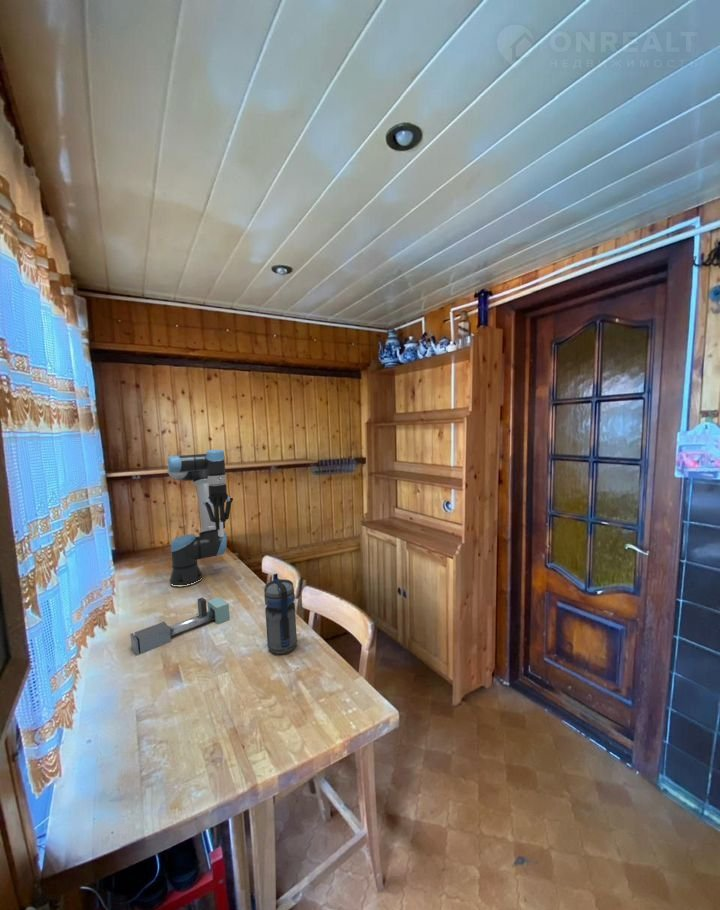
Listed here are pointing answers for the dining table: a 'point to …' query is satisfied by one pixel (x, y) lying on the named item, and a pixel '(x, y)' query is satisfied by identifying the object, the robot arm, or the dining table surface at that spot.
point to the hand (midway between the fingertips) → (221, 536)
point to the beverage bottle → (280, 615)
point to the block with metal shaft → (194, 619)
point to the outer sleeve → (150, 638)
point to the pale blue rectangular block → (219, 609)
